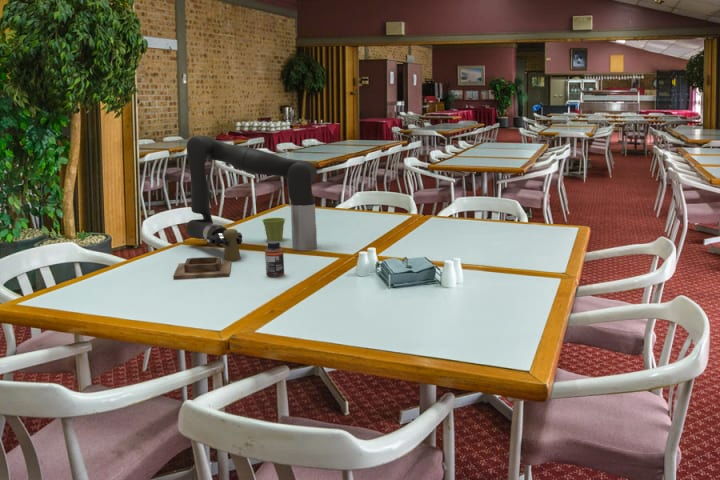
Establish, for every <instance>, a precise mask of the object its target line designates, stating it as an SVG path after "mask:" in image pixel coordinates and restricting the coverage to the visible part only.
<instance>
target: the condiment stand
mask: <svg viewBox="0 0 720 480" xmlns="http://www.w3.org/2000/svg"><path fill="white" fill-rule="evenodd" d="M231 268H232V261H225V260H223V261H222V258H221V256H205V257H204V256H203V257H189V258H186V260H185V262H181V263H178V264H177V267H176V269H175V271H174V274H173V275H172V277H173V280H190V279H191V280H192V279H209V278H210V279H212V278H214V279H215V278H230V275H231Z"/></svg>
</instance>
